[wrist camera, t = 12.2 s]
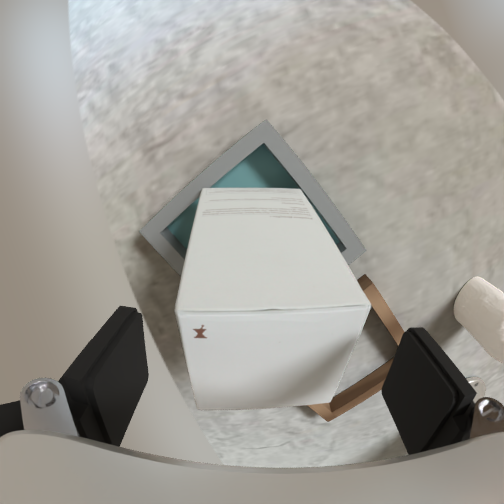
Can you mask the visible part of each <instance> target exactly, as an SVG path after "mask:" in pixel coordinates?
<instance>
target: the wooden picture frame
mask: <svg viewBox="0 0 504 504" xmlns="http://www.w3.org/2000/svg"><path fill="white" fill-rule="evenodd" d="M357 282H358V283H359V285H360V287H361V289H362V290H363V292H364V293H365V295H366V297H367V298H368V300H369V301H370V303H371V306H372V307H373V309H374V310H375V312H376V313H377V315H378V316H379V318H380V319H381V321H382V322H383V324H384V325H385V327H386V328H387V330H388V331H389V333H390V334H391V336H392V337H393V339H394V340H395V342H396V343H397V345H398V346H399V343H400V341H401V338H402V335H403V333H404V331H403V329H402V327H401V326H400V324H399V323H398V321H397V319H396V318H395V316H394V315H393V313H392V311H391V310H390V308H389V307H388V305H387V304H386V302H385V300H384V299H383V297H382V296H381V294H380V293H379V291H378V290H377V288H376V287H375V285H374V284H373V282H372V281H371V280H370V279H369V278H368V277H367V276H366V275H363V276H362V277H361V278H360V279H358V280H357ZM393 359H394V357H393V358H392V359H391V360H389V361H388V362H387V363H385V364H384V365H382V366H381V367H380V368H378V369H377V370H375V371H374V372H372V373H371V374H369V375H368V376H366V377H365V378H363V379H362V380H360V381H359V382H357V383H356V384H354V385H353V386H351V387H349V388H348V389H346V390H345V391H343V392H341V393H340V394H338V395H337V396H335V397H333V398H332V400H331V402H329V403H322V404H313V405H307V406H309V407H310V408H311V409H312V410H314V411H315V412H316V413H317V414H318V415H320V416H321V417H322V418H323V419H325V420H326V421H327V422H329V421H331V420H332V419H334V418H336V417H338V416H339V415H341V414H343V413H345V412H346V411H348V410H350V409H351V408H353V407H355V406H356V405H358V404H360V403H361V402H363V401H364V400H366V399H368V398H369V397H371V396H372V395H374V394H375V393H377V392H378V391H380V390H381V389H382V386H383V384H384V381H385V379H386V377H387V374H388V372H389V369H390V367H391V364H392V362H393Z"/></svg>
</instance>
